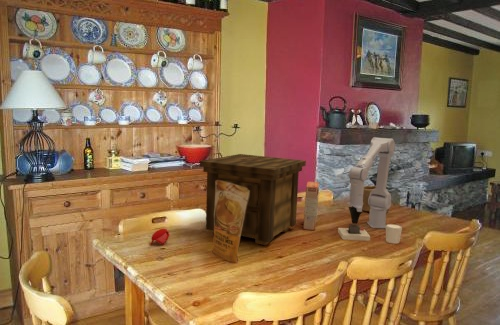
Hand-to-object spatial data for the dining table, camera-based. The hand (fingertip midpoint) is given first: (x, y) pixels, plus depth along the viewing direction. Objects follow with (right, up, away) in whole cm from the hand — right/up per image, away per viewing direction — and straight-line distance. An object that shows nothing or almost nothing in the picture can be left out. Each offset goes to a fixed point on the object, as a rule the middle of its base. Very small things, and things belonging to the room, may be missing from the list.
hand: (354, 223), depth 181 cm
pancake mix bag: (-56, -8, -29) cm, 64 cm away
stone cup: (+22, -1, +46) cm, 51 cm away
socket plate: (0, -6, +1) cm, 6 cm away
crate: (-46, -4, +2) cm, 47 cm away
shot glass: (+16, -8, -5) cm, 18 cm away
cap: (-84, -6, -18) cm, 86 cm away
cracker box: (-18, -4, +14) cm, 23 cm away
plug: (0, -6, +1) cm, 6 cm away
